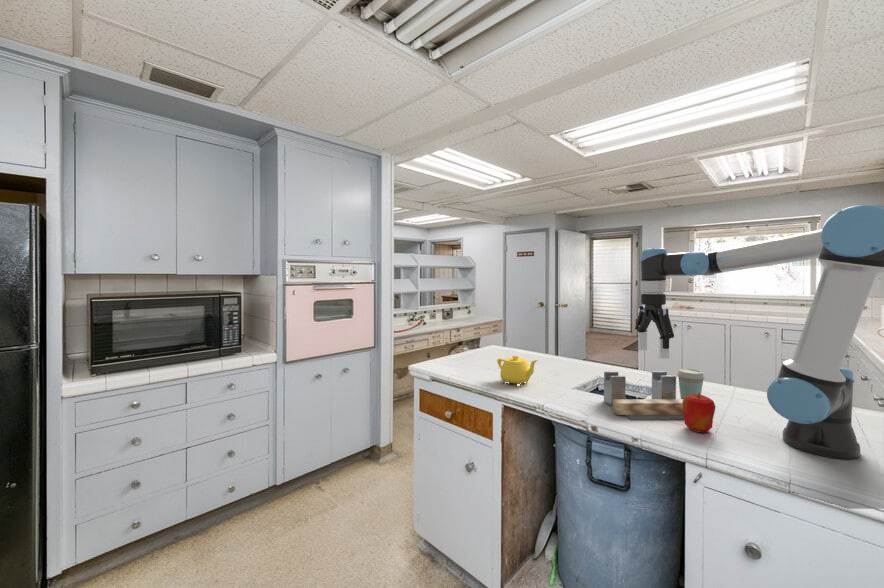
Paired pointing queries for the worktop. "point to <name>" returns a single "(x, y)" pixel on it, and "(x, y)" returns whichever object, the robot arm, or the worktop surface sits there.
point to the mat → (655, 417)
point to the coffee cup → (690, 382)
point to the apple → (698, 412)
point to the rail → (648, 406)
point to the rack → (660, 386)
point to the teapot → (516, 369)
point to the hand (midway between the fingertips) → (652, 354)
